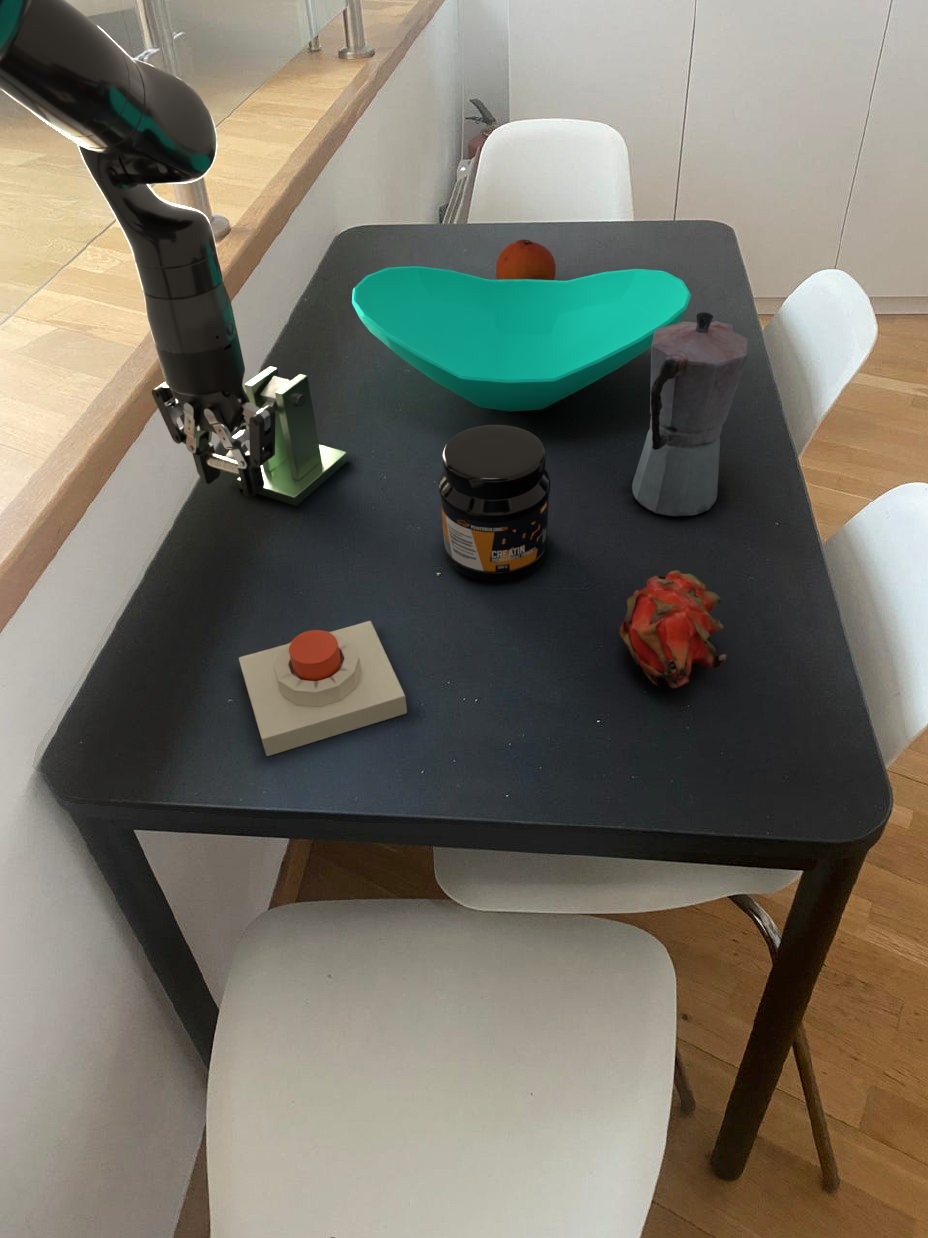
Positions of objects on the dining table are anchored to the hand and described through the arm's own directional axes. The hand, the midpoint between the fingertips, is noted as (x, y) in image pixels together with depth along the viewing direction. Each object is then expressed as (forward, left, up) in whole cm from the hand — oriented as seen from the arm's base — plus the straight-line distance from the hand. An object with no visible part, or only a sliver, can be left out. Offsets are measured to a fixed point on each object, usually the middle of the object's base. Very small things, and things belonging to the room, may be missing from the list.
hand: (232, 485), depth 96 cm
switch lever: (+4, +4, +3) cm, 6 cm away
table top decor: (+38, +13, -5) cm, 40 cm away
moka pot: (+44, -15, -5) cm, 47 cm away
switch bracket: (+7, +6, -4) cm, 10 cm away
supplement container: (+23, -16, -5) cm, 28 cm away
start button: (+2, -28, -1) cm, 28 cm away
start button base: (+2, -28, -4) cm, 29 cm away
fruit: (+51, +40, -5) cm, 65 cm away
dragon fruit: (+31, -36, -5) cm, 48 cm away
